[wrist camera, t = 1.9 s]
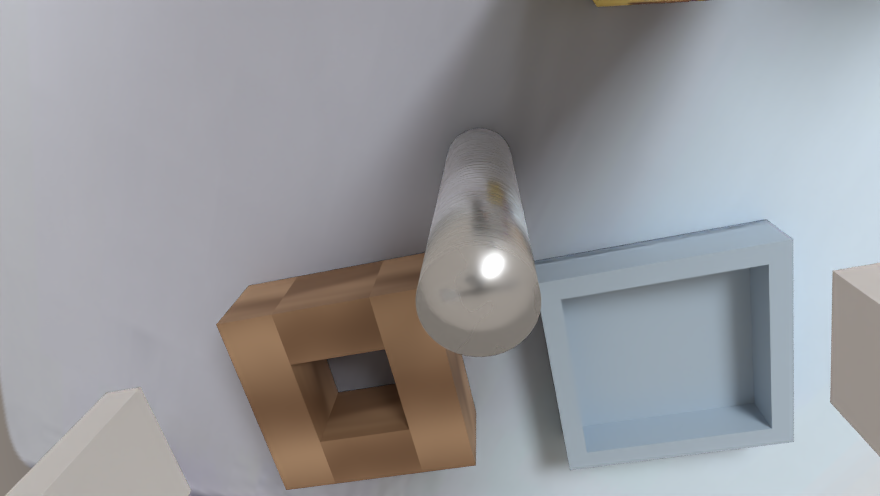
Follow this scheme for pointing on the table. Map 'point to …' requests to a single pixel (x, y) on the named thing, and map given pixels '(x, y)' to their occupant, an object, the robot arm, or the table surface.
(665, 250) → the tray
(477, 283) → the cylinder
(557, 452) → the table surface
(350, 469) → the bore block
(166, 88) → the table surface
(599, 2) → the candy box
